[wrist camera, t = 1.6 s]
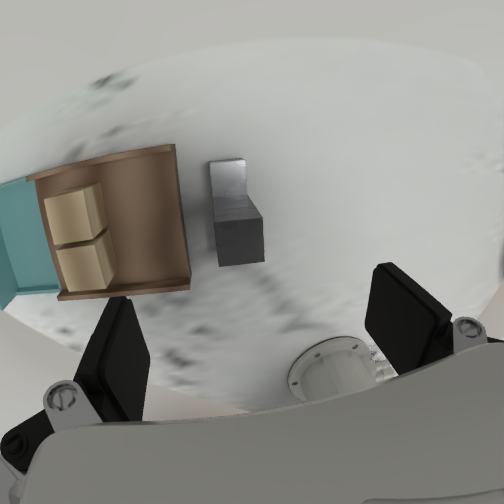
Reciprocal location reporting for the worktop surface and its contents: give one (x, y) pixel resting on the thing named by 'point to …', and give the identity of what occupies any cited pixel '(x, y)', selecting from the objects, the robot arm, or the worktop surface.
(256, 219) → the grey stepped block
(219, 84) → the worktop surface
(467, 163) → the worktop surface
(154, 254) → the walnut channel
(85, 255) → the oak block
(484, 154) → the worktop surface
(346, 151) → the worktop surface
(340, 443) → the robot arm
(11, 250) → the teal tray
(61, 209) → the oak block
